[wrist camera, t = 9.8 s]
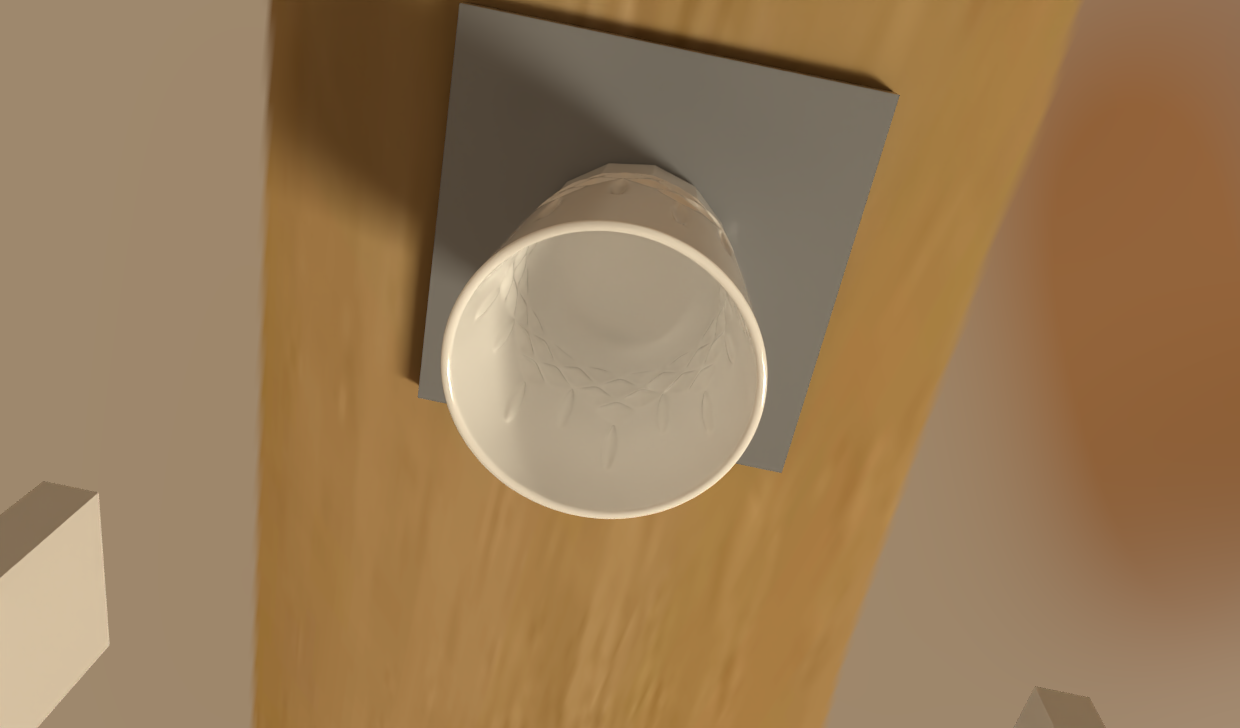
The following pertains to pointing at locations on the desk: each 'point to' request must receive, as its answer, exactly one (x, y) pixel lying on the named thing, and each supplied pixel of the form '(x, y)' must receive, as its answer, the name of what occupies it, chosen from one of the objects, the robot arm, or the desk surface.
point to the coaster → (676, 142)
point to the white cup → (608, 349)
